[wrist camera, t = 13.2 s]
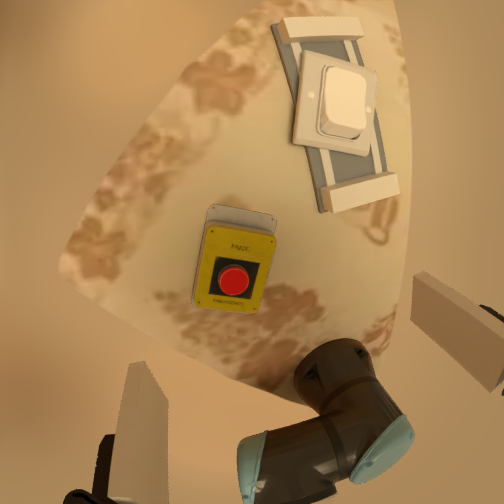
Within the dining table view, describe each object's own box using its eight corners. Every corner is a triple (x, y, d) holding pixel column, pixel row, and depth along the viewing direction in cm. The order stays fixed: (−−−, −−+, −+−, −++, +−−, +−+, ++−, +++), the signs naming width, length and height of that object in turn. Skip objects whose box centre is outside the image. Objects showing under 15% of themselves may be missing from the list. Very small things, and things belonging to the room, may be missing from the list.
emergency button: (189, 321, 37) (210, 208, 32) (189, 304, 41) (209, 201, 37) (257, 328, 39) (287, 223, 35) (251, 312, 43) (277, 215, 39)
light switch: (301, 145, 31) (312, 43, 26) (290, 143, 35) (300, 51, 30) (378, 159, 33) (388, 68, 28) (362, 156, 37) (371, 72, 32)
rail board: (387, 192, 40) (402, 196, 37) (319, 212, 39) (330, 218, 36) (346, 23, 30) (359, 15, 27) (270, 26, 29) (278, 15, 26)
